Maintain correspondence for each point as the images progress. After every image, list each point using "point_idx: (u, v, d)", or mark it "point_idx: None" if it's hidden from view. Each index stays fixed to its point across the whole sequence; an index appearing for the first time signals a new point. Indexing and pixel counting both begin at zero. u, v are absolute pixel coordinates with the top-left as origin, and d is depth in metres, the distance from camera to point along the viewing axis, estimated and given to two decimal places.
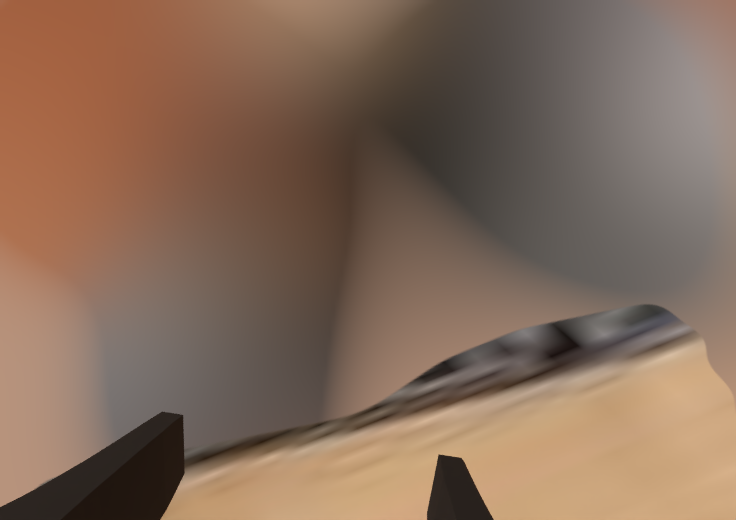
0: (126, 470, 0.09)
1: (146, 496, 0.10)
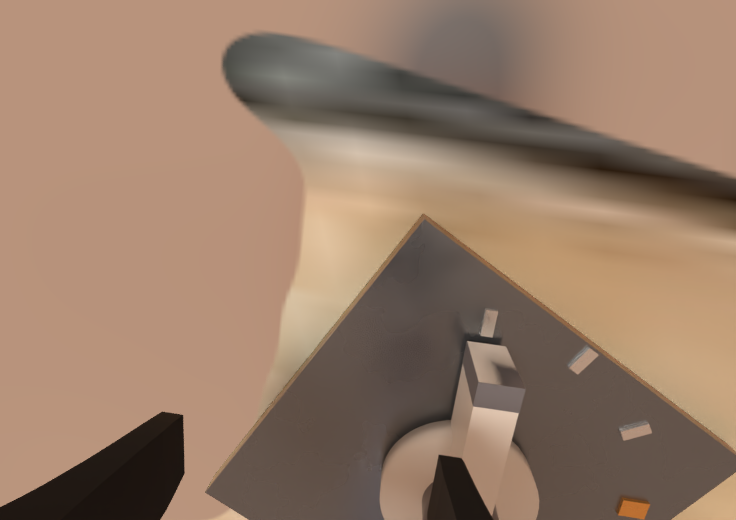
0: (126, 470, 0.09)
1: (146, 496, 0.10)
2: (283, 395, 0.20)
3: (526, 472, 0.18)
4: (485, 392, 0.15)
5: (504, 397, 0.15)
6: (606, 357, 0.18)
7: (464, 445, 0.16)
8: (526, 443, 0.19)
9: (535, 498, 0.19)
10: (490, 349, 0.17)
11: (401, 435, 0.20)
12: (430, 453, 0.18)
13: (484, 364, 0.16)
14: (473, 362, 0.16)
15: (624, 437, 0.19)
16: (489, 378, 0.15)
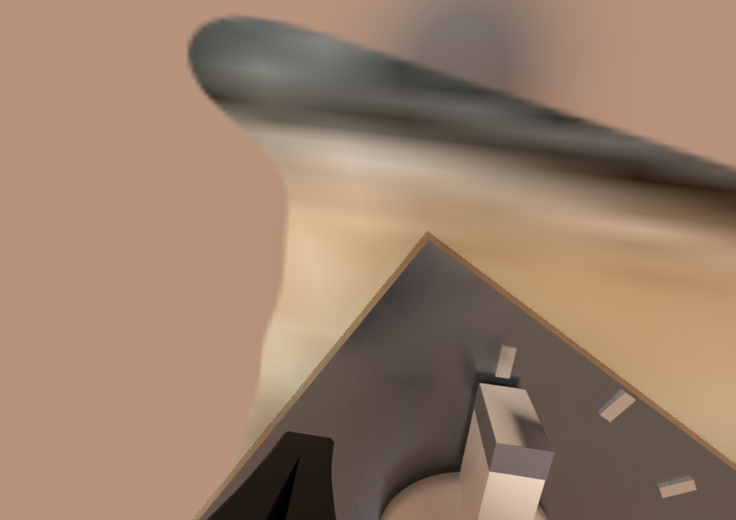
0: (281, 495, 0.09)
1: None
2: (264, 441, 0.17)
3: None
4: (504, 455, 0.12)
5: (527, 461, 0.12)
6: (644, 402, 0.15)
7: (478, 515, 0.13)
8: (547, 498, 0.17)
9: None
10: (507, 394, 0.14)
11: (401, 487, 0.17)
12: (435, 513, 0.16)
13: (501, 416, 0.13)
14: (488, 414, 0.13)
15: (663, 494, 0.16)
16: (509, 438, 0.12)
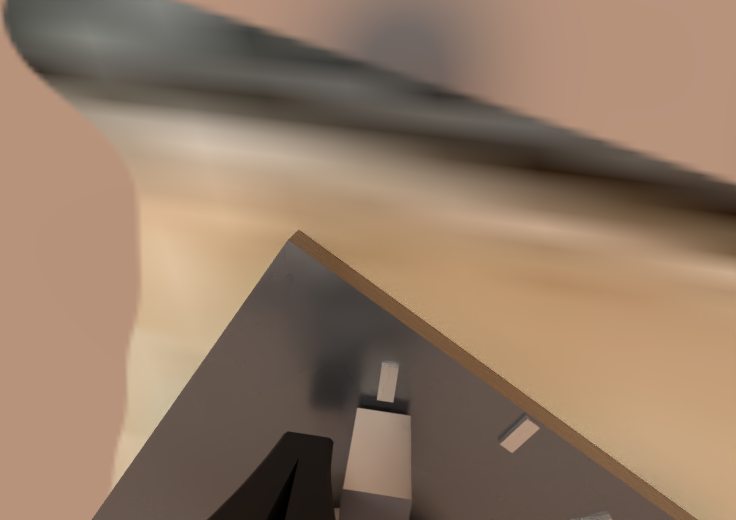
0: (281, 495, 0.09)
1: None
2: (127, 470, 0.15)
3: None
4: (354, 503, 0.10)
5: (381, 511, 0.10)
6: (551, 430, 0.13)
7: None
8: None
9: None
10: (385, 422, 0.12)
11: None
12: None
13: (365, 451, 0.11)
14: (350, 449, 0.11)
15: None
16: (362, 481, 0.10)
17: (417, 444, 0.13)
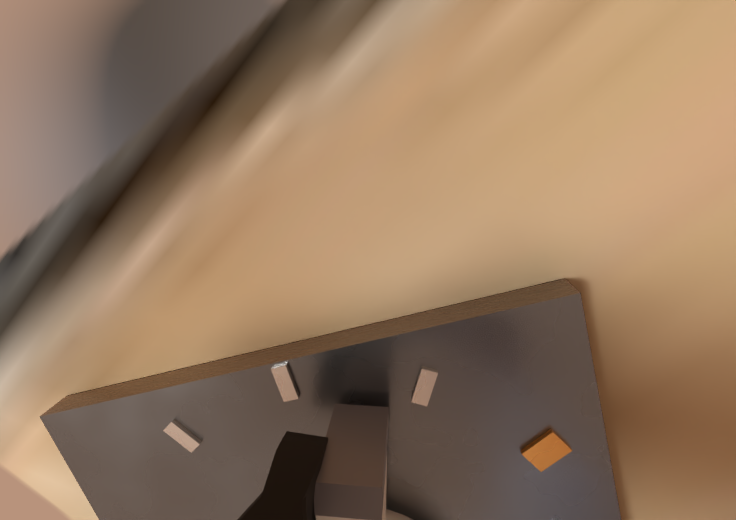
0: None
1: None
2: None
3: None
4: (326, 495, 0.10)
5: (354, 501, 0.10)
6: (300, 357, 0.13)
7: None
8: None
9: None
10: (362, 415, 0.12)
11: None
12: None
13: (340, 445, 0.11)
14: None
15: (425, 401, 0.13)
16: (334, 473, 0.10)
17: (253, 453, 0.14)
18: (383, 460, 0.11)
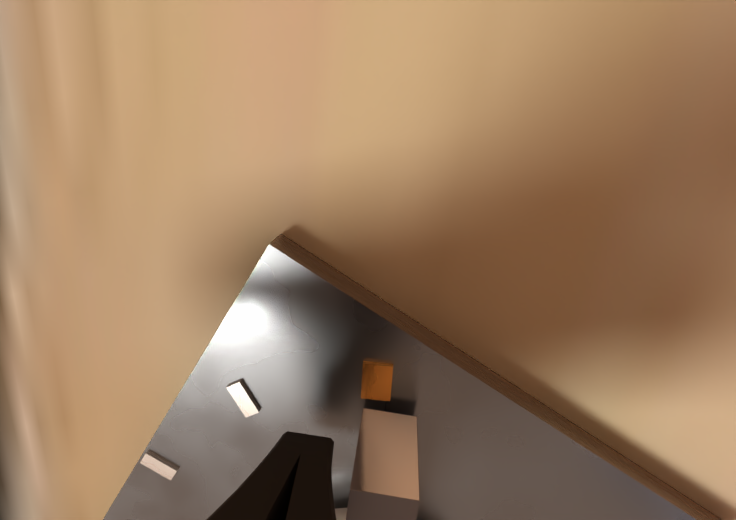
0: (281, 495, 0.09)
1: None
2: None
3: None
4: (361, 504, 0.10)
5: (388, 512, 0.10)
6: (152, 439, 0.14)
7: None
8: None
9: None
10: (391, 422, 0.12)
11: None
12: None
13: (372, 452, 0.11)
14: (357, 449, 0.11)
15: (256, 409, 0.14)
16: (370, 482, 0.10)
17: None
18: (418, 472, 0.11)
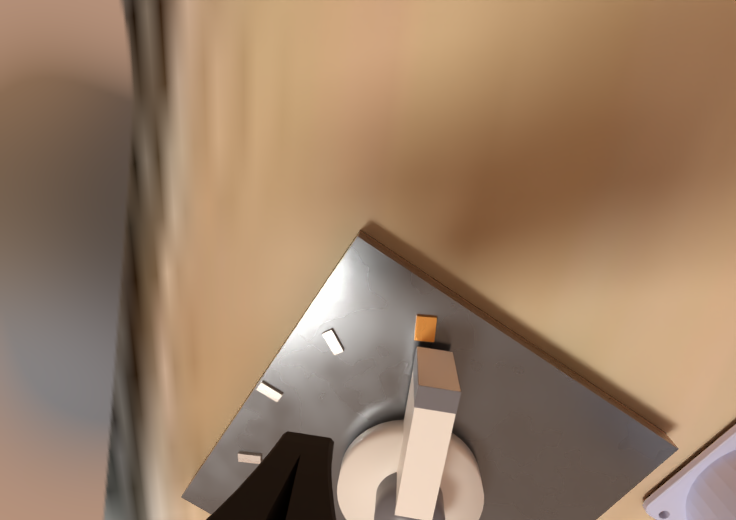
0: (281, 495, 0.09)
1: None
2: None
3: (471, 469, 0.20)
4: (425, 394, 0.16)
5: (441, 399, 0.16)
6: (265, 372, 0.21)
7: (407, 443, 0.17)
8: (361, 423, 0.21)
9: (480, 493, 0.20)
10: (437, 354, 0.19)
11: None
12: (382, 450, 0.20)
13: (428, 368, 0.17)
14: (418, 367, 0.17)
15: (341, 349, 0.20)
16: (429, 382, 0.16)
17: None
18: (457, 379, 0.17)
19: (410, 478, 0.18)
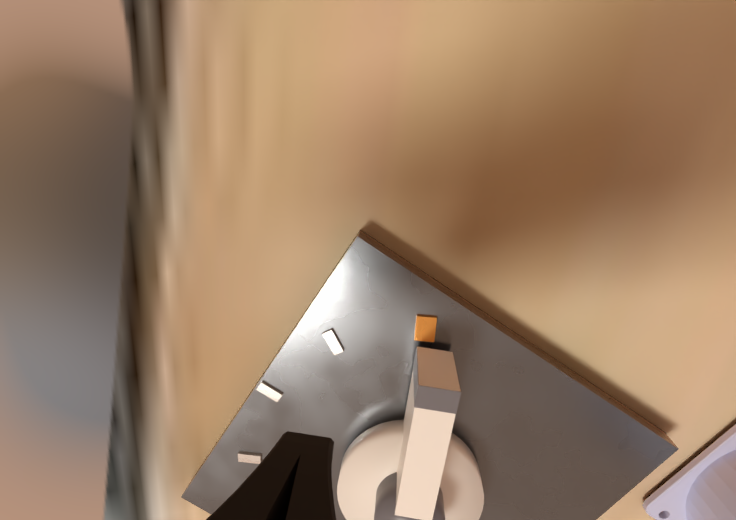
0: (281, 495, 0.09)
1: None
2: None
3: (471, 469, 0.20)
4: (425, 394, 0.16)
5: (441, 399, 0.16)
6: (265, 372, 0.21)
7: (407, 443, 0.17)
8: (361, 423, 0.21)
9: (480, 493, 0.20)
10: (437, 354, 0.19)
11: None
12: (382, 450, 0.20)
13: (428, 368, 0.17)
14: (418, 367, 0.17)
15: (341, 349, 0.20)
16: (429, 382, 0.16)
17: None
18: (457, 379, 0.17)
19: (410, 478, 0.18)
